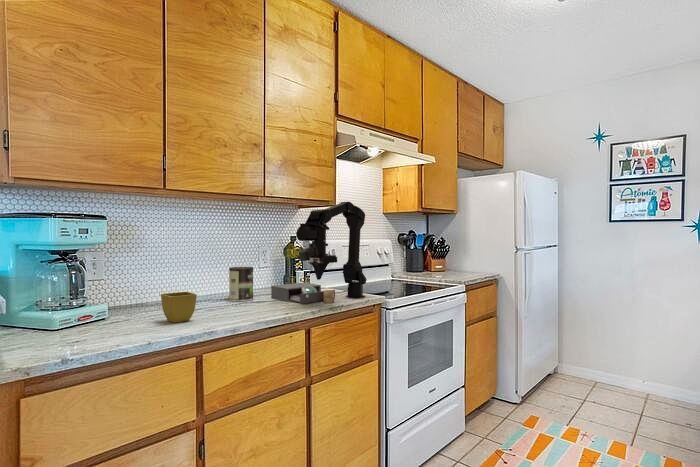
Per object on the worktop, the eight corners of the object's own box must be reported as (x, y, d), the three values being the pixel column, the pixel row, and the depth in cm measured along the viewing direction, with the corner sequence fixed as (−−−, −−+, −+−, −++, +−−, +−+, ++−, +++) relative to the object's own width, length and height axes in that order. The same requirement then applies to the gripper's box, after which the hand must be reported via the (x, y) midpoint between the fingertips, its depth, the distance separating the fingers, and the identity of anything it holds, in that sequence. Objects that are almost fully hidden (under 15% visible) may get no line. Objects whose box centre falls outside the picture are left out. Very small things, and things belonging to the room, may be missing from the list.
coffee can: (256, 297, 179) (256, 266, 179) (249, 301, 169) (249, 268, 169) (233, 297, 179) (233, 266, 179) (225, 301, 169) (225, 268, 169)
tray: (317, 295, 183) (317, 287, 183) (335, 298, 173) (335, 290, 173) (284, 299, 171) (284, 290, 171) (301, 303, 161) (301, 294, 161)
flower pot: (186, 317, 138) (186, 291, 138) (197, 320, 132) (197, 293, 132) (160, 320, 132) (160, 293, 132) (170, 325, 126) (170, 296, 126)
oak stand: (329, 301, 170) (329, 289, 170) (336, 302, 167) (336, 291, 167) (321, 302, 167) (321, 290, 167) (328, 303, 164) (328, 292, 164)
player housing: (304, 293, 190) (304, 282, 190) (322, 297, 180) (322, 285, 180) (271, 298, 178) (271, 285, 178) (288, 302, 168) (288, 289, 168)
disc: (310, 286, 177) (312, 284, 177) (318, 297, 173) (319, 294, 172) (298, 288, 173) (299, 285, 172) (305, 298, 169) (306, 295, 168)
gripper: (290, 240, 164) (289, 278, 164) (313, 241, 149) (313, 283, 149) (313, 240, 171) (313, 277, 170) (338, 241, 156) (338, 281, 155)
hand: (318, 279), depth 161 cm, fingers closed
